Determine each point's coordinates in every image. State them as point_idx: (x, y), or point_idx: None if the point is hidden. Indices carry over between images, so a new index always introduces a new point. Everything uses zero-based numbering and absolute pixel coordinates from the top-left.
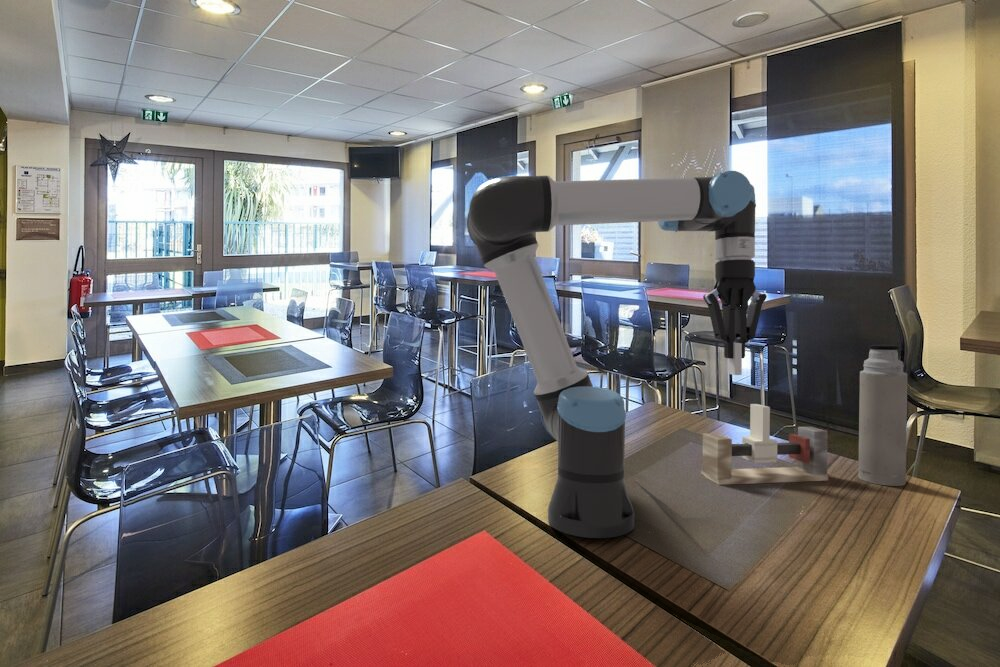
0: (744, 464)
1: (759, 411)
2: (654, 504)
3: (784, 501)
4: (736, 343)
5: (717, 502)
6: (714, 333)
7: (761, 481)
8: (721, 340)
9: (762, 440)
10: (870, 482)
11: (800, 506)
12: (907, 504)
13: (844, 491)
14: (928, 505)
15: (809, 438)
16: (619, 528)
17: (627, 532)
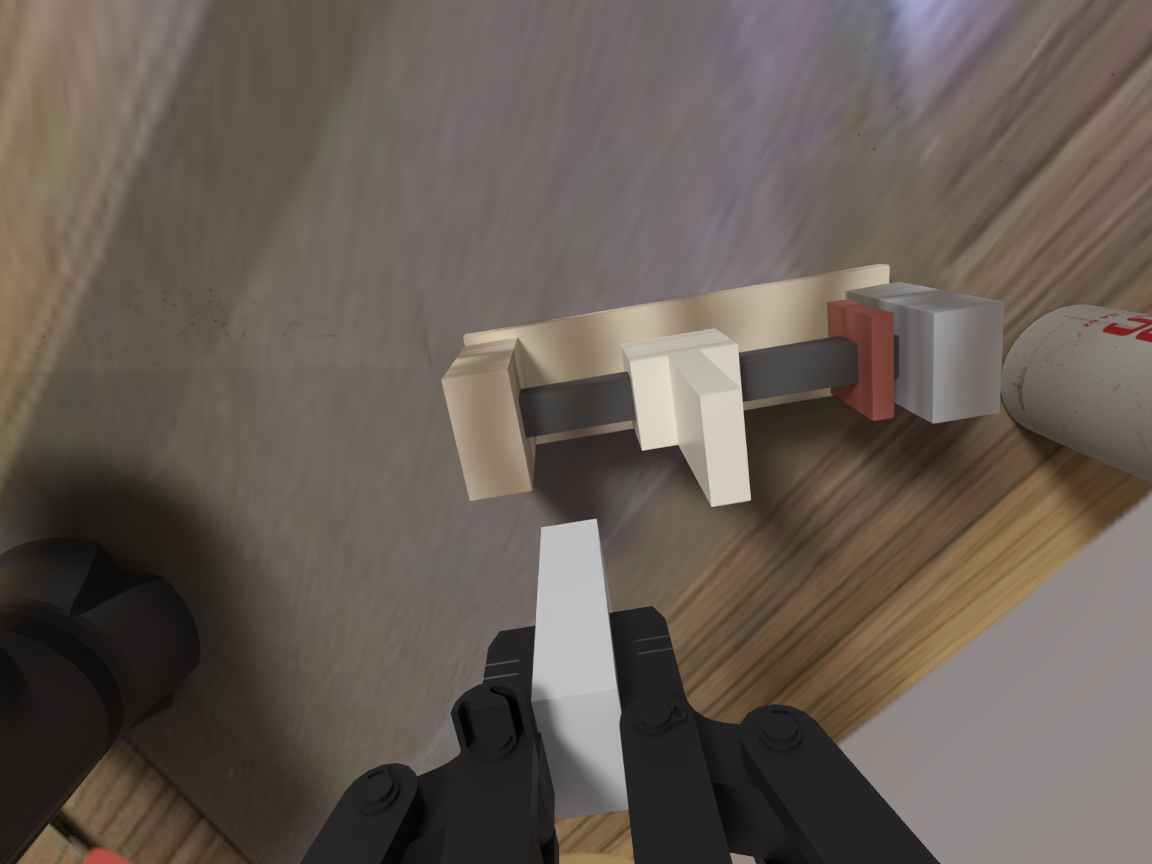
0: (696, 162)
1: (702, 466)
2: (259, 621)
3: (622, 581)
4: (576, 814)
5: (434, 598)
6: (317, 848)
7: None
8: (427, 787)
9: (678, 443)
10: (1003, 402)
11: None
12: (935, 586)
13: (850, 490)
14: (983, 590)
15: (912, 384)
16: None
17: None
